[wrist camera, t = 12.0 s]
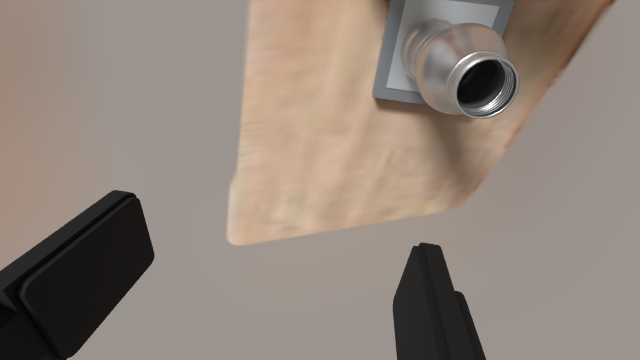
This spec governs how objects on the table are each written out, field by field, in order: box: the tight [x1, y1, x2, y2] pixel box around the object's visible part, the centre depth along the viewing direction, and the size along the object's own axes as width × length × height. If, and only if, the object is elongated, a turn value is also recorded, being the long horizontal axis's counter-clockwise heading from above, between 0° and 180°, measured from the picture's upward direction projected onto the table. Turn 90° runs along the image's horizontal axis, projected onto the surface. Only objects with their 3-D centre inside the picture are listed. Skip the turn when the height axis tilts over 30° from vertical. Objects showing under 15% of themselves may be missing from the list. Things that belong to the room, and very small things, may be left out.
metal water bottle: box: [401, 18, 519, 119], centre depth 26 cm, size 6×7×20 cm
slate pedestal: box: [372, 0, 516, 105], centre depth 35 cm, size 13×13×3 cm
